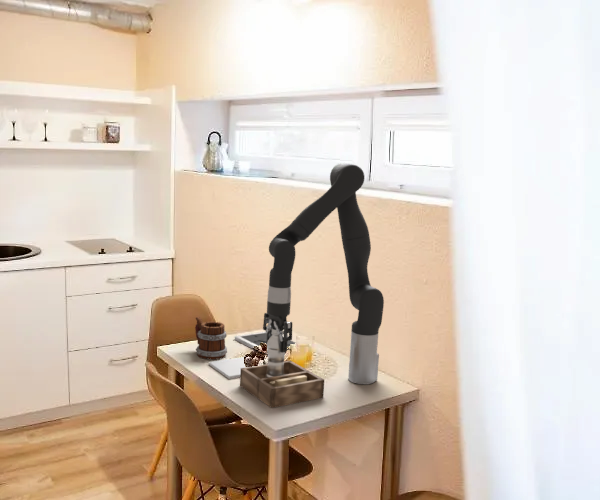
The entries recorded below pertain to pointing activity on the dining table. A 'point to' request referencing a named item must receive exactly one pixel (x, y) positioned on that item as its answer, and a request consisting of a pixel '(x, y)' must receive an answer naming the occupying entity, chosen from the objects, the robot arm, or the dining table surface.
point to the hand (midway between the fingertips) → (276, 348)
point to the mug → (210, 339)
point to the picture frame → (255, 339)
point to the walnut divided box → (285, 394)
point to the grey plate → (229, 367)
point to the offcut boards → (288, 381)
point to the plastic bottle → (274, 356)
